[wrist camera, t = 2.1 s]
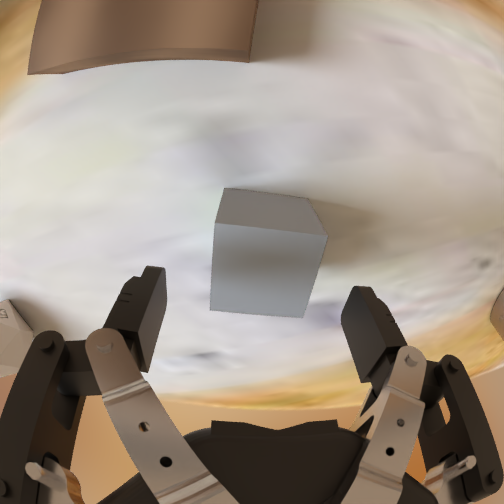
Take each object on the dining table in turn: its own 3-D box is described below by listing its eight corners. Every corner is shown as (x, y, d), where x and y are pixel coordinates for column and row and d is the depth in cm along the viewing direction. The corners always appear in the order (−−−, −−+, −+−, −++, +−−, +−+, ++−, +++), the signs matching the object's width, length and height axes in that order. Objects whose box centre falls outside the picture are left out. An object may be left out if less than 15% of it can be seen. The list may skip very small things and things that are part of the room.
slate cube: (307, 198, 16) (328, 236, 12) (291, 266, 19) (302, 318, 14) (224, 187, 16) (214, 222, 12) (218, 259, 18) (209, 310, 14)
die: (34, 298, 21) (-41, 310, 13) (53, 374, 22) (-15, 395, 13) (19, 294, 25) (-40, 304, 17) (34, 357, 25) (-22, 372, 17)
